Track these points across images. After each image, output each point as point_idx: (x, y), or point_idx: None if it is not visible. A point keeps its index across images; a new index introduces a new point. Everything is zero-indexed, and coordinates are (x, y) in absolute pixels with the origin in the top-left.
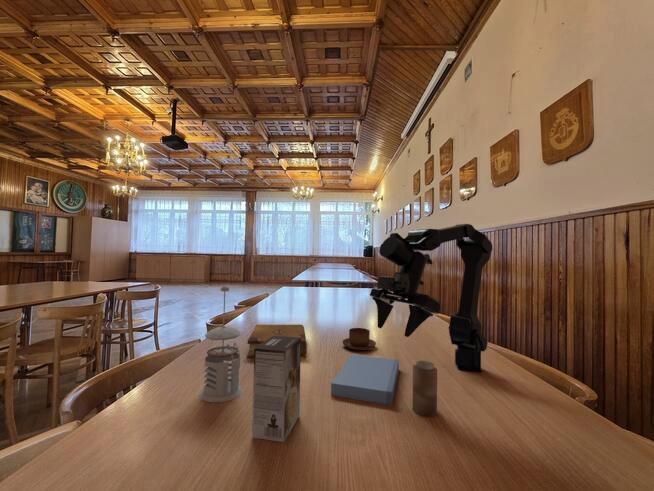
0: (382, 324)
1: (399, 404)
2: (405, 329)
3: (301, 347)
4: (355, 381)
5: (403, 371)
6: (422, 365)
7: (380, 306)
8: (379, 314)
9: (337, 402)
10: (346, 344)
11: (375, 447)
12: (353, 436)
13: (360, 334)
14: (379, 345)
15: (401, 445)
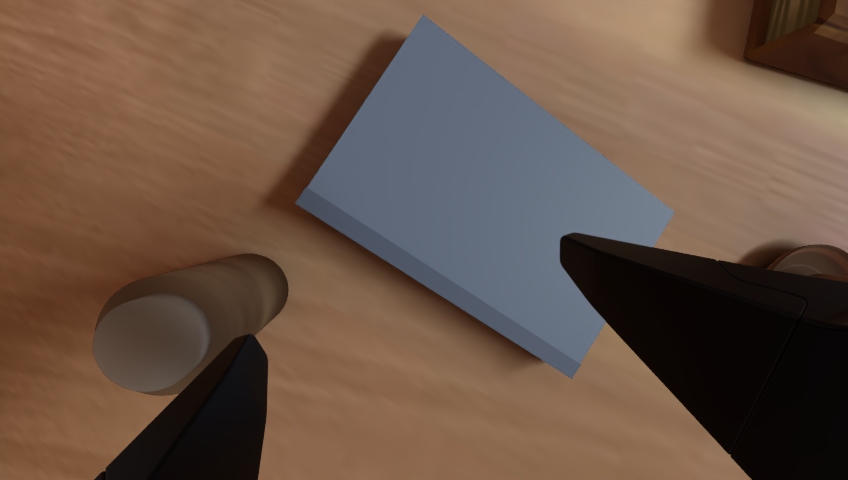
0: (584, 283)
1: (304, 232)
2: (226, 366)
3: (799, 27)
4: (415, 112)
5: (530, 370)
6: (119, 314)
7: (832, 320)
8: (678, 269)
9: (362, 40)
10: (819, 265)
11: (91, 43)
12: (158, 6)
13: None
14: None
15: (85, 120)
